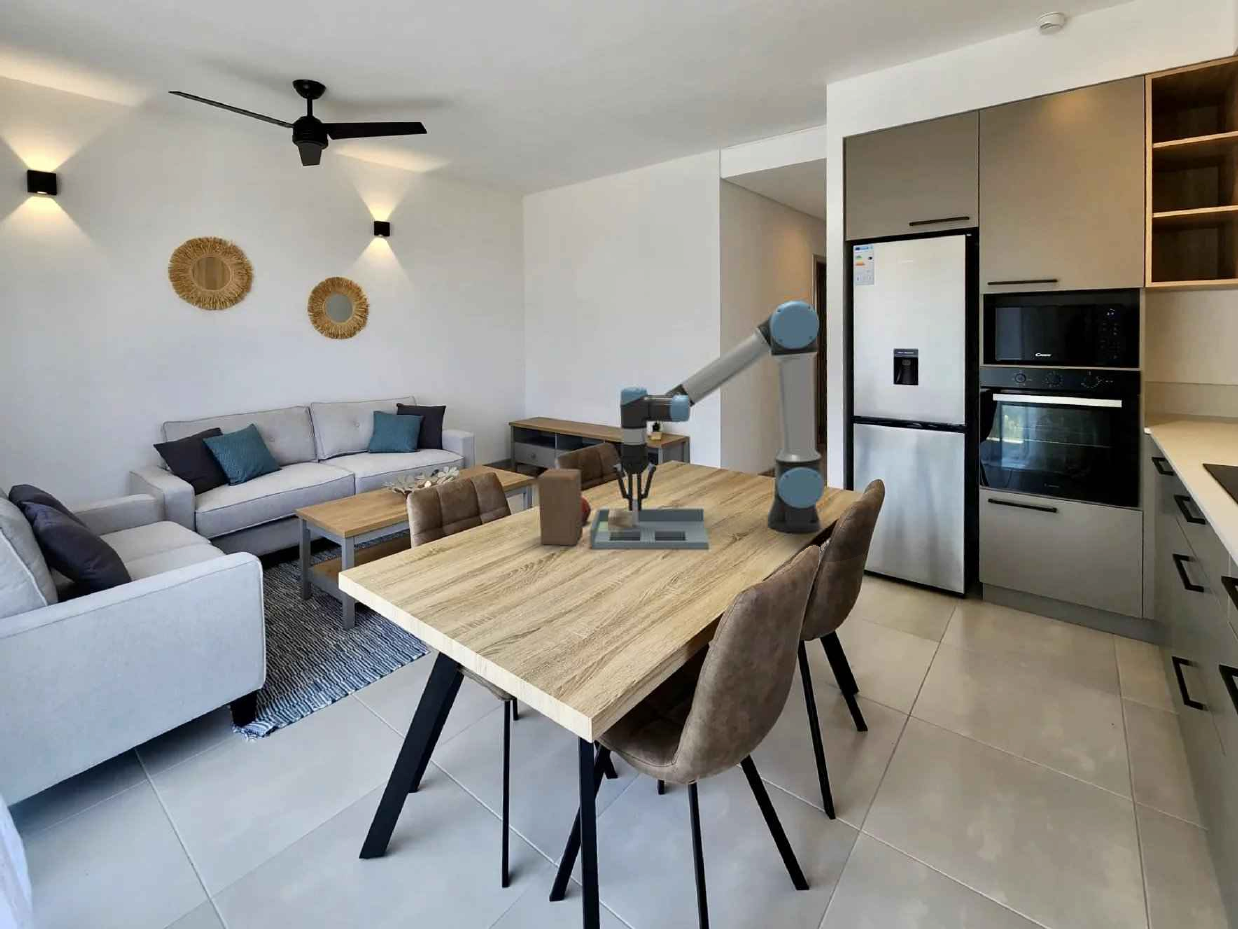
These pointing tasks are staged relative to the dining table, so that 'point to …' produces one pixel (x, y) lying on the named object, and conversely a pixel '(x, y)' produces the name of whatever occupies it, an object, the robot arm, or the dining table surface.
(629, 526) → the beech block
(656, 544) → the board
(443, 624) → the dining table surface
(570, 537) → the wooden block
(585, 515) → the fruit
